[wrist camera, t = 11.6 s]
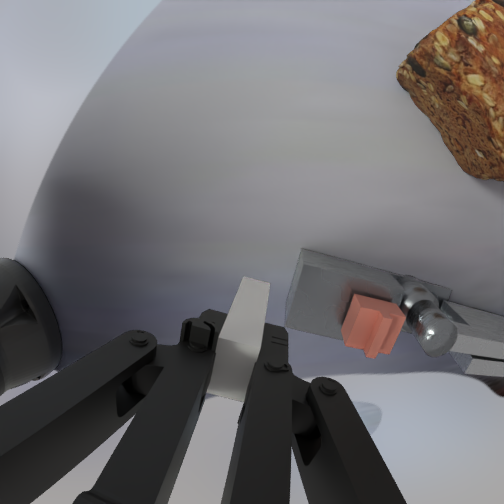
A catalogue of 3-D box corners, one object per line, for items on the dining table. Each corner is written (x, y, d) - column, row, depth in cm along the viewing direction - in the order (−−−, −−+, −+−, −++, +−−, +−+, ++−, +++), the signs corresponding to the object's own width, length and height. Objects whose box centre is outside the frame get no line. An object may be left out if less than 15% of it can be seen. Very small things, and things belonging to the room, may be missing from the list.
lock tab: (340, 330, 19) (347, 353, 16) (354, 293, 18) (364, 313, 15) (381, 338, 18) (392, 361, 16) (396, 303, 18) (410, 323, 15)
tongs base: (285, 302, 23) (282, 355, 16) (302, 246, 22) (307, 280, 15) (535, 352, 21) (567, 385, 14) (551, 317, 20) (588, 346, 13)
